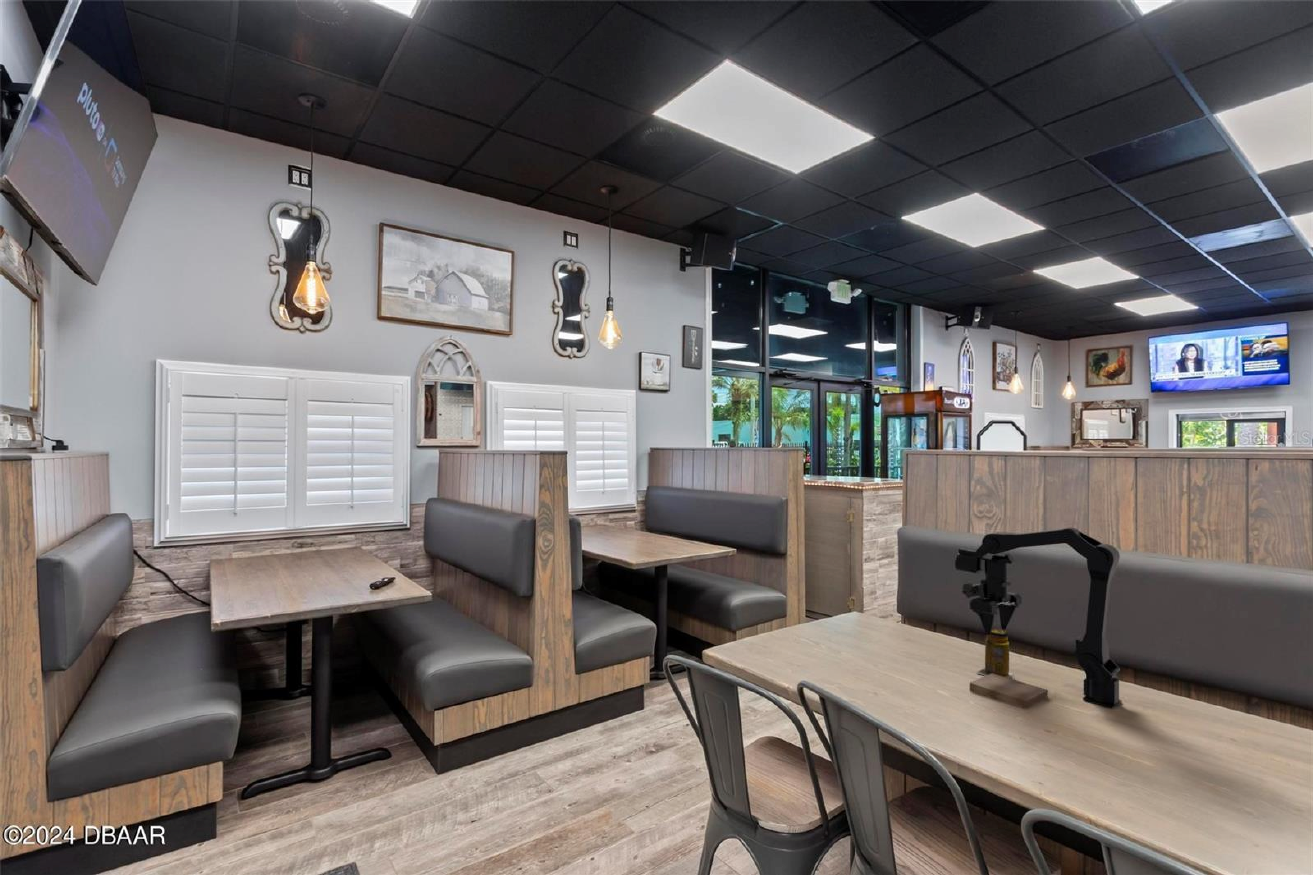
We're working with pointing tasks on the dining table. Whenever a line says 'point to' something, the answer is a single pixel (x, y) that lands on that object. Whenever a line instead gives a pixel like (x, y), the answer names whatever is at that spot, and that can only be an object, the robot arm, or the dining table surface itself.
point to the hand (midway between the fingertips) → (995, 632)
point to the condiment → (996, 654)
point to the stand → (1009, 690)
